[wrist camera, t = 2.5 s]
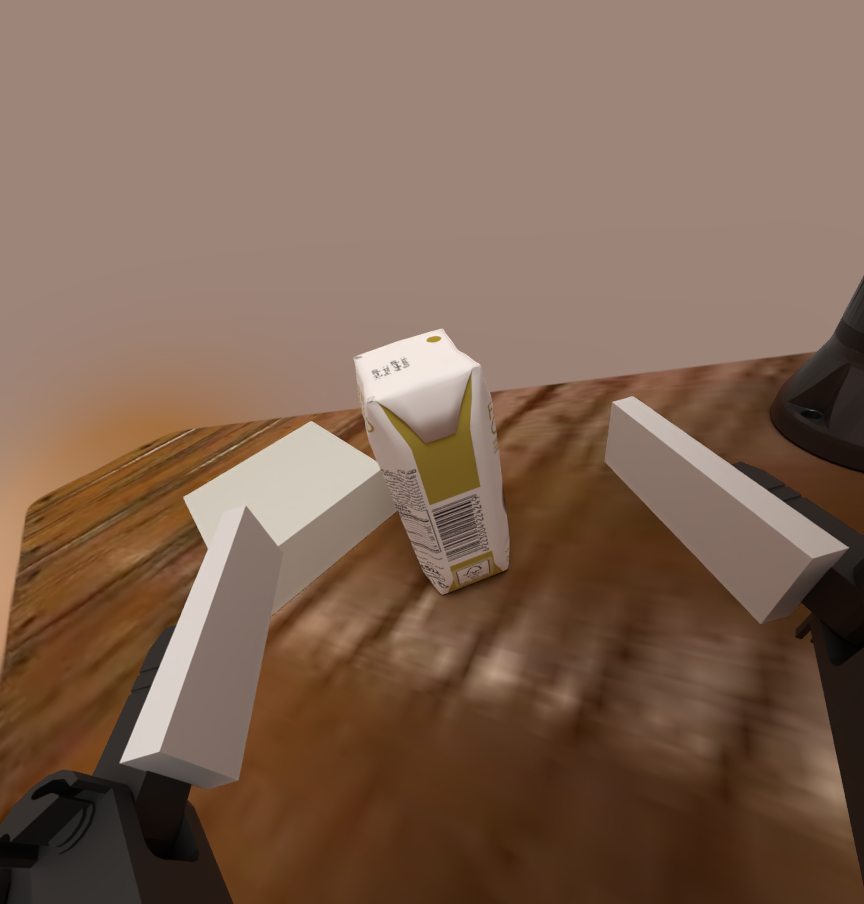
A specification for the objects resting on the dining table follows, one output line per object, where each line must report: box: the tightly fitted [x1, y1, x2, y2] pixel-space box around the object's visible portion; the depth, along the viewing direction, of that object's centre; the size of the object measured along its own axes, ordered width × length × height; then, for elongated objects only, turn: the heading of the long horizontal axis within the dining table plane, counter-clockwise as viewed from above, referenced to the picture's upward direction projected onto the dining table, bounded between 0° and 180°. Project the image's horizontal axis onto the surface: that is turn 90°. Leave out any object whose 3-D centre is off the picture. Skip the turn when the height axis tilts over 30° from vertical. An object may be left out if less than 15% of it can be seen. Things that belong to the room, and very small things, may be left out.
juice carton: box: [354, 329, 509, 595], centre depth 26 cm, size 8×9×19 cm
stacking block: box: [183, 421, 397, 616], centre depth 37 cm, size 16×16×6 cm
